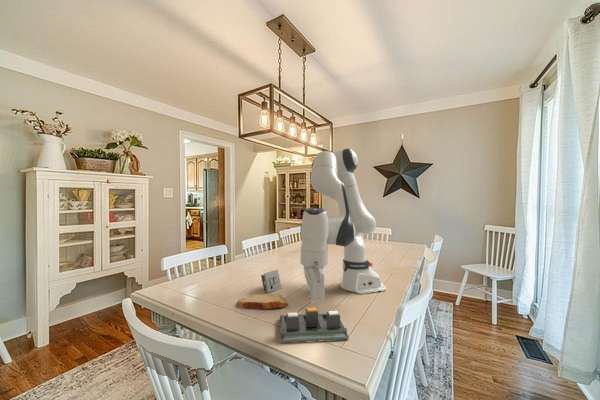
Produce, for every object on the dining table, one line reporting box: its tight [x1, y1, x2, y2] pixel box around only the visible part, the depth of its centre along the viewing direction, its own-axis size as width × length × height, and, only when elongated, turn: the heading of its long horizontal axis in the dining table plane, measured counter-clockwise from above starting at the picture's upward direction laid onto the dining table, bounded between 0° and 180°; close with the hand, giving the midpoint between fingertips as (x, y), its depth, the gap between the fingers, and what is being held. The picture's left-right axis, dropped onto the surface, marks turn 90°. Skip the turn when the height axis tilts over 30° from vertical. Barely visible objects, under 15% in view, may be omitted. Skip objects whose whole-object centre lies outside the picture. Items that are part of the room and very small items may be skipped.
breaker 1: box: [286, 312, 299, 331], centre depth 81 cm, size 4×3×6 cm
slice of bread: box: [235, 293, 289, 310], centre depth 104 cm, size 18×18×4 cm
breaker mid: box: [305, 307, 319, 327], centre depth 85 cm, size 4×3×6 cm
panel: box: [279, 312, 349, 344], centre depth 85 cm, size 22×15×2 cm
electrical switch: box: [260, 269, 282, 294], centre depth 121 cm, size 9×5×9 cm, turn 141°
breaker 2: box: [326, 310, 341, 329], centre depth 83 cm, size 4×3×6 cm
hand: (312, 300), depth 78 cm, fingers closed
